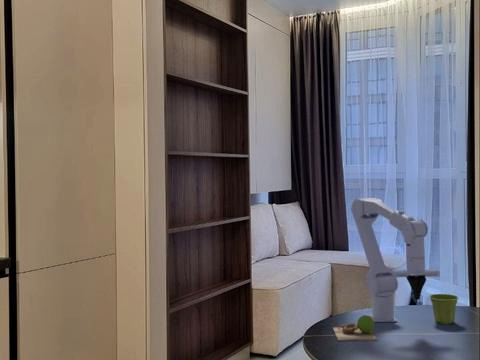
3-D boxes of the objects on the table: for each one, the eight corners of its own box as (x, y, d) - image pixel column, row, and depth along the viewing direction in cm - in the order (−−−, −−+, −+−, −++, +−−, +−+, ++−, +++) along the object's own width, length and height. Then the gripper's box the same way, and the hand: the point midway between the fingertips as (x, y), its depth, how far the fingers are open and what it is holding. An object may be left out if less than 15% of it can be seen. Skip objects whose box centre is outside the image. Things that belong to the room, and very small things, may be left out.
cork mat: (333, 328, 173) (333, 327, 173) (369, 328, 173) (369, 326, 173) (338, 340, 160) (337, 339, 160) (377, 340, 159) (377, 339, 159)
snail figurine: (370, 310, 169) (335, 319, 171) (372, 316, 163) (335, 326, 165) (375, 325, 169) (340, 334, 171) (377, 332, 163) (340, 342, 165)
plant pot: (462, 325, 172) (461, 299, 172) (432, 325, 174) (431, 299, 174) (456, 318, 181) (455, 294, 181) (428, 318, 183) (427, 293, 183)
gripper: (395, 259, 164) (397, 302, 164) (442, 258, 163) (443, 301, 163) (390, 256, 171) (392, 297, 171) (435, 255, 170) (436, 296, 170)
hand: (416, 299), depth 168 cm, fingers closed
